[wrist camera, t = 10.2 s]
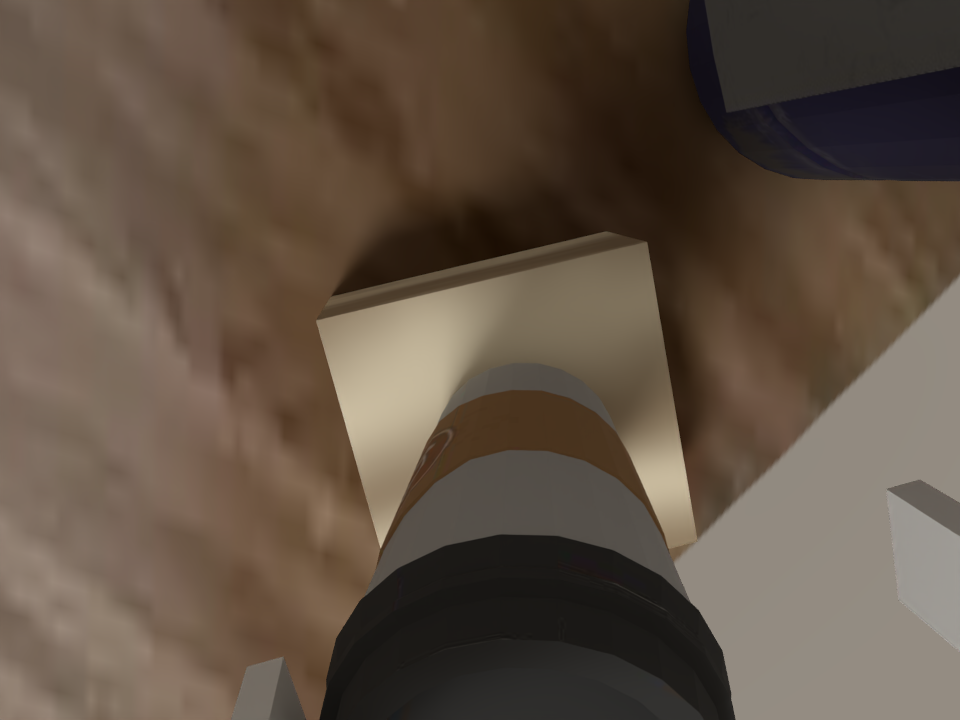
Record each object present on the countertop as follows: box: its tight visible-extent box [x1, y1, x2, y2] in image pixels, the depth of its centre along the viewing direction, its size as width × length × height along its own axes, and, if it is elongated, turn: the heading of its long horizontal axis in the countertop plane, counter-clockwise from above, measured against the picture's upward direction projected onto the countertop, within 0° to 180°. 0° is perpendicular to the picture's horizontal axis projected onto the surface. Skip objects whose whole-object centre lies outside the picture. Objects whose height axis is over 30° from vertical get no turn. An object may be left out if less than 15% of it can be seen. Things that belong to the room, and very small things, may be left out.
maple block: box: [316, 231, 697, 549], centre depth 31 cm, size 12×12×6 cm
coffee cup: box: [320, 363, 735, 720], centre depth 21 cm, size 8×8×15 cm
